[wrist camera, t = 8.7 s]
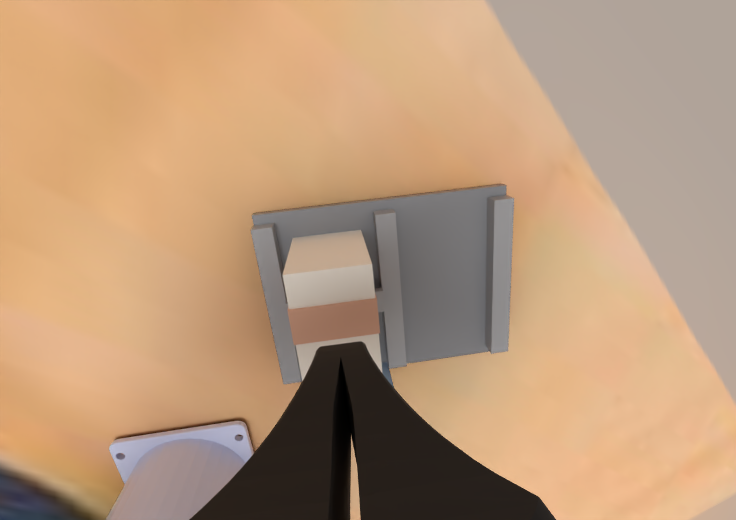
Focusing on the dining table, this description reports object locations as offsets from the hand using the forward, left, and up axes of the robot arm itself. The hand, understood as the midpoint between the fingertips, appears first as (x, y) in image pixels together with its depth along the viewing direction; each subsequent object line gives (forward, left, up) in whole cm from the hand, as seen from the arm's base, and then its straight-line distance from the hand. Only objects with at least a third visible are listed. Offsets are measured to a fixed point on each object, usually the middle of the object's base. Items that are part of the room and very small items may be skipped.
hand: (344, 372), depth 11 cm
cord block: (-2, 0, -10) cm, 10 cm away
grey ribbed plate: (-2, -3, -10) cm, 11 cm away
